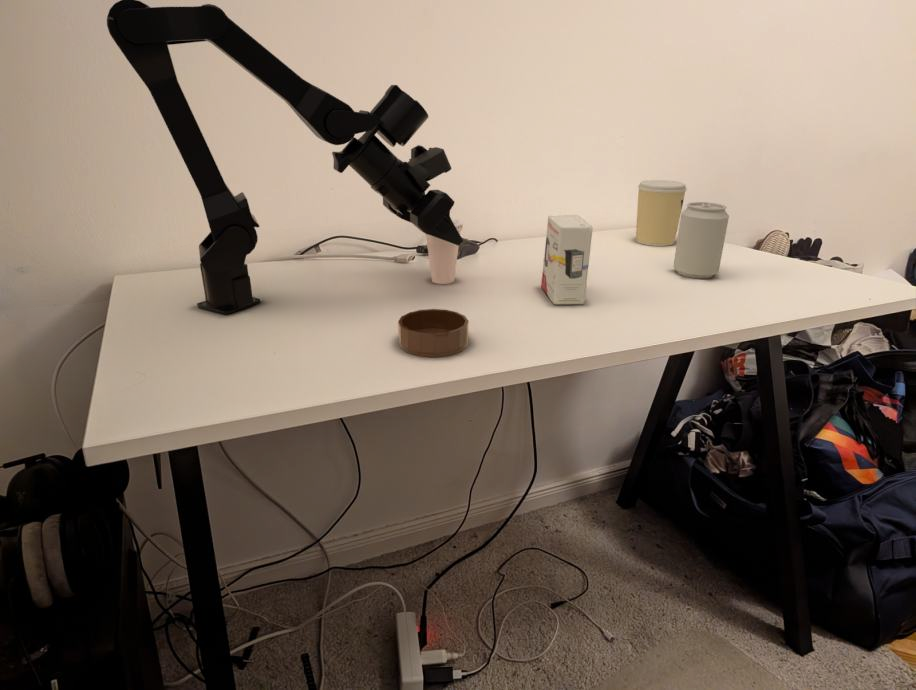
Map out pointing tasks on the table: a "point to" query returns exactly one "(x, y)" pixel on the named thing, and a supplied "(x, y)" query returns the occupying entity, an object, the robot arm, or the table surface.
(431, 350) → the brown bowl
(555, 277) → the ink box
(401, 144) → the robot arm
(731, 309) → the table surface
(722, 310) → the table surface
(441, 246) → the smoothie
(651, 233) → the yellow lidded canister
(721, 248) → the can
